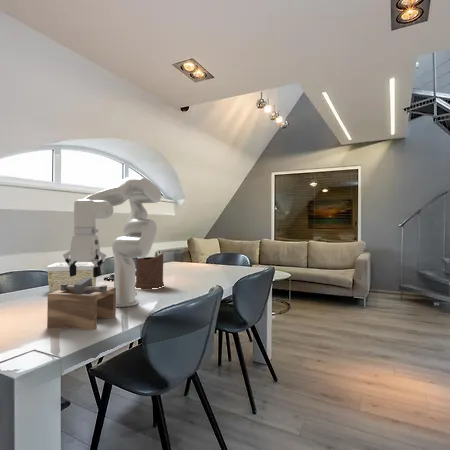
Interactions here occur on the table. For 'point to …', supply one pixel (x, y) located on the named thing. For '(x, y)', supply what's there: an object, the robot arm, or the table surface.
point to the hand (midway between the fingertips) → (84, 276)
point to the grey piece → (83, 286)
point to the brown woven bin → (149, 272)
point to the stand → (80, 307)
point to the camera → (110, 277)
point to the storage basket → (68, 275)
